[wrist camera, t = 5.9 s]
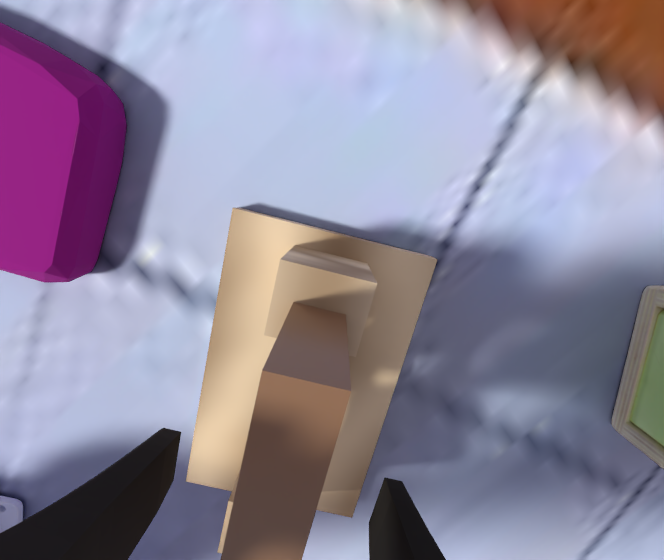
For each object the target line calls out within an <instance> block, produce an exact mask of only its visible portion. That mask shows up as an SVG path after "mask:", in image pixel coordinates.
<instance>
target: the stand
mask: <svg viewBox="0 0 664 560" xmlns="http://www.w3.org/2000/svg"><path fill="white" fill-rule="evenodd" d="M436 263H437V259H436V258H434V257H432V256H429V255H425V254H421V253H417V252H413V251H409V250H405V249H401V248H397V247H393V246H389V245H385V244H381V243H377V242H373V241H369V240H365V239H361V238H357V237H353V236H349V235H345V234H342V233H338V232H334V231H330V230H326V229H322V228H318V227H314V226H310V225H306V224H302V223H298V222H294V221H290V220H286V219H282V218H278V217H274V216H270V215H266V214H262V213H258V212H255V211H251V210H247V209H243V208H233V209H232V215H231V221H230V227H229V233H228V239H227V244H226V250H225V256H224V262H223V268H222V273H221V279H220V285H219V291H218V297H217V302H216V308H215V314H214V320H213V326H212V332H211V337H210V343H209V349H208V355H207V361H206V366H205V372H204V378H203V384H202V390H201V396H200V401H199V407H198V413H197V419H196V425H195V430H194V436H193V442H192V448H191V454H190V460H189V465H188V471H187V477H186V481H187V482H191V483H196V484H200V485H205V486H209V487H214V488H219V489H223V490H228V491H232V493H231V495H230V498H229V501H228V505H227V510H226V515H225V519H224V524H223V529H222V533H221V538H220V543H219V547H218V552H217V553H222V551H223V547H224V542H225V538H226V533H227V528H228V524H229V519H230V515H231V510H232V506H233V501H234V496H235V492H236V487H237V483H238V478H239V474H240V469H241V464H242V460H243V455H244V451H245V446H246V442H247V437H248V432H249V428H250V423H251V419H252V414H253V410H254V405H255V400H256V396H257V391H258V387H259V382H260V378H261V373H262V369H263V367H264V365H265V363H266V361H267V359H268V356H269V354H270V352H271V350H272V348H273V345H274V343H275V341H276V339H277V337H278V334H279V332H280V330H281V328H282V326H283V324H284V321H285V319H286V317H287V315H288V313H289V310H290V308H291V306H292V304H293V302H296V303H300V304H304V305H309V306H313V307H317V308H321V309H325V310H329V311H333V312H337V313H341V314H346V322H347V336H348V350H349V365H350V379H351V394H350V398H349V401H348V404H347V408H346V411H345V414H344V418H343V421H342V425H341V428H340V431H339V435H338V438H337V441H336V445H335V448H334V452H333V455H332V458H331V462H330V465H329V468H328V472H327V475H326V479H325V482H324V485H323V489H322V492H321V495H320V499H319V502H318V506H317V509H316V510H319V511H324V512H329V513H333V514H338V515H342V516H347V517H351V518H352V516H353V513H354V510H355V507H356V504H357V501H358V498H359V495H360V492H361V489H362V486H363V483H364V480H365V477H366V474H367V471H368V468H369V465H370V462H371V459H372V456H373V453H374V450H375V447H376V444H377V441H378V438H379V435H380V432H381V429H382V426H383V423H384V420H385V417H386V414H387V411H388V408H389V405H390V402H391V399H392V396H393V392H394V389H395V386H396V383H397V380H398V377H399V374H400V371H401V368H402V365H403V362H404V359H405V356H406V353H407V350H408V347H409V344H410V341H411V338H412V335H413V332H414V329H415V326H416V323H417V320H418V317H419V314H420V311H421V308H422V305H423V302H424V299H425V296H426V293H427V290H428V287H429V284H430V281H431V278H432V275H433V272H434V269H435V266H436Z"/></svg>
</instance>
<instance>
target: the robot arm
mask: <svg viewBox="0 0 664 560" xmlns="http://www.w3.org/2000/svg"><path fill="white" fill-rule="evenodd" d="M180 435H181V432H179V431H175V430H170V429H166V428H163V429H161V430H159V431H158V432H156V433H155V434H154V435H152V436H151V437H150V438H149V439H147V440H146V441H145V442H143V443H142V444H141V445H139V446H138V447H136V448H135V449H134V450H132V451H131V452H130V453H128V454H127V455H126V456H124V457H123V458H121V459H120V460H118V461H117V462H116V463H114V464H113V465H111V466H110V467H108V468H107V469H106V470H104V471H103V472H101V473H100V474H98V475H97V476H95V477H94V478H92V479H91V480H89V481H88V482H86V483H85V484H83V485H82V486H80V487H78V488H77V489H75V490H74V491H72V492H71V493H69V494H68V495H66V496H64V497H63V498H61V499H60V500H58V501H56V502H55V503H53V504H51V505H50V506H48V507H46V508H45V509H43V510H41V511H39V512H38V513H36V514H34V515H32V516H31V517H29V518H27V519H25V520H24V521H23V504H22V502H21V501H20V500H18V499H15V498H10V497H5V496H0V560H128V558H129V556H130V555H131V553H132V552H133V550H134V549H135V547H136V545H137V544H138V542H139V541H140V539H141V537H142V536H143V534H144V533H145V531H146V530H147V528H148V526H149V525H150V523H151V522H152V520H153V518H154V517H155V515H156V513H157V511H158V510H159V508H160V506H161V504H162V502H163V500H164V498H165V496H166V494H167V492H168V490H169V488H170V486H171V484H172V482H173V479H174V473H175V467H176V460H177V454H178V448H179V442H180ZM369 555H370V560H446V559H445V557H444V556H443V554H442V552H441V551H440V549H439V547H438V546H437V544H436V542H435V540H434V539H433V537H432V535H431V534H430V532H429V530H428V528H427V527H426V525H425V523H424V521H423V519H422V518H421V516H420V514H419V512H418V510H417V509H416V507H415V505H414V503H413V501H412V499H411V497H410V496H409V494H408V492H407V490H406V488H405V486H404V485H403V483H402V481H398V480H393V479H389V478H384V481H383V484H382V487H381V490H380V493H379V496H378V499H377V501H376V504H375V507H374V510H373V513H372V516H371V519H370V521H369Z"/></svg>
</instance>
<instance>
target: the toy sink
mask: <svg viewBox="0 0 664 560" xmlns="http://www.w3.org/2000/svg"><path fill="white" fill-rule="evenodd" d="M611 424H612V427H613V428H614V429H615V430H616V431H617V432H618V433H619V434H621V435H622V436H623V437H624V438H626V439H627V440H628V441H629V442H630V443H632V444H633V445H634V446H635V447H637V448H638V449H639V450H641V451H642V452H643V453H644V454H645V455H647V456H648V457H649V458H650V459H651V460H653V461H654V462H655V463H656V464H658V465H659V466H660V467H661V468H663V469H664V286H658V285H653V286H647V287H646V288H645V289H644V291H643V294H642V297H641V301H640V305H639V309H638V313H637V317H636V322H635V326H634V330H633V334H632V338H631V342H630V346H629V350H628V355H627V359H626V363H625V367H624V371H623V375H622V379H621V383H620V387H619V391H618V395H617V399H616V404H615V408H614V412H613V416H612V423H611Z"/></svg>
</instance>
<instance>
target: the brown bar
mask: <svg viewBox="0 0 664 560" xmlns="http://www.w3.org/2000/svg"><path fill="white" fill-rule="evenodd" d="M350 394H351V379H350V365H349V350H348V336H347V322H346V314H341V313H337V312H333V311H329V310H325V309H321V308H317V307H313V306H309V305H304V304H300V303H296V302H293V304H292V306H291V308H290V310H289V313H288V315H287V317H286V319H285V321H284V324H283V326H282V328H281V330H280V332H279V334H278V337H277V339H276V341H275V343H274V345H273V348H272V350H271V352H270V354H269V356H268V359H267V361H266V363H265V365H264V367H263V369H262V373H261V378H260V382H259V387H258V391H257V396H256V400H255V405H254V410H253V414H252V419H251V423H250V428H249V432H248V437H247V442H246V446H245V451H244V455H243V460H242V464H241V469H240V474H239V478H238V483H237V487H236V492H235V496H234V501H233V506H232V510H231V515H230V519H229V524H228V528H227V533H226V538H225V542H224V547H223V551H222V556H221V560H302V556H303V553H304V549H305V546H306V543H307V539H308V536H309V533H310V529H311V526H312V522H313V519H314V516H315V512H316V509H317V506H318V502H319V499H320V495H321V492H322V489H323V485H324V482H325V479H326V475H327V472H328V468H329V465H330V462H331V458H332V455H333V452H334V448H335V445H336V441H337V438H338V435H339V431H340V428H341V425H342V421H343V418H344V414H345V411H346V408H347V404H348V401H349V398H350Z"/></svg>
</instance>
